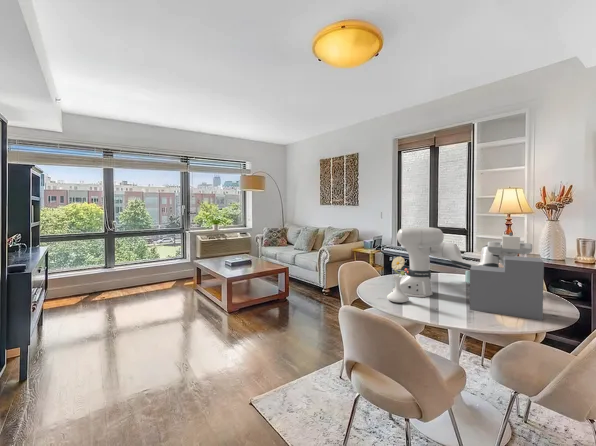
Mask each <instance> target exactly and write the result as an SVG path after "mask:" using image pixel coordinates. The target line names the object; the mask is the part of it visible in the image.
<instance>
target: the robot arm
mask: <svg viewBox="0 0 596 446" xmlns="http://www.w3.org/2000/svg"><path fill="white" fill-rule="evenodd" d="M444 237H445V235H444V232H443V231H442V229H440V228H437V227H429V226H427V227H424V226H423V227H422V226H421V227H420V226H419V227H418V226H417V227H415V226H414V227H413V226H412V227H411V226H410V227H409V226H408V227H402V228H400V229H399V230H398V231H397V234H396V239H397V242H398V243H399V244H400V246H402V247H403V248H404V249H405V250H406V252H407V254H408V258H409V260H408V261H409V268H404V272H405V275H403V277H402V278H401V281H400V289H401V291H402V292H403V293H405V294H406V295H407V296H408V297H414V298H415V297H416V298H425V297H429V296H433V294H434V292H433V290H432V286H431V279H432V273H431V271H432V270H431V257H433V258H437V259H443V260H444V259H445V260H448V261H450V262H451V264H452V265H454V266H456V267H459V268H464V269H467V270H470V268H471V265H475V266H487V267H500V266H499V263H500V264H501V265H502V267H504V256H514V257H518V254H522V255H529V254H531V253H532V252H533V244H532V243H529V242H520V249H507V248H502V241H488V242H487V245H484V246H482V247H481V252H480V259H479V262H478V263H476V262H472V261H467V260H466V259H463V256H462V252H461V250H460V248H459V246H458V245H457V244H455V243H453V242H443V241H444V239H445V238H444ZM430 256H431V257H430ZM395 287H396V286H395ZM395 287H393V288H392V289H391V290H392V291H394V290H395ZM392 291H391V292H392Z"/></svg>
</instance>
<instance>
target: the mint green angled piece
mask: <svg viewBox="0 0 596 446" xmlns="http://www.w3.org/2000/svg"><path fill="white" fill-rule="evenodd" d="M465 283H468V284H470V270H465Z"/></svg>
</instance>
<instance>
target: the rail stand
mask: <svg viewBox="0 0 596 446" xmlns="http://www.w3.org/2000/svg"><path fill="white" fill-rule="evenodd" d="M469 271H470V283H469V310H471V311H478V312H485V313H491V314H497V315H504V316H511V317H519V318H525V319H532V320H538V321H543V320H544V319H543V316H544V315H543V313H544V281H545V280H544V279H545V278H544V276H545V261H543V260H542V258H541V257H530V256H529V257H527V256H526V257H525V256H517V257H514V256H504V266H503V267H500V266H499V267H487V266H475V265H471V268H470V269H469Z"/></svg>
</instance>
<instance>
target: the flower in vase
mask: <svg viewBox="0 0 596 446" xmlns="http://www.w3.org/2000/svg"><path fill="white" fill-rule="evenodd" d="M404 266H405V258H404V257H402V256H396V257H395V258H393V259H392V262H391V268H392V269H393V271H394V272H395V273H397V274H393V275H392V277H393V278H394V281H395V290H394V291H393V292H392V291H391V292H390V293H388V294H387V296H386V298H387V299H388V301H391V302H393V303H407V302H408V301H409V299H410V297H409V296H407V295H406V294H405V293H403V292H402V291H401V289H400V281H401V278H402V277H404V276H405V275H406V272H405V270H402V269H403V267H404ZM398 270H399V271H400V272H399V271H398Z"/></svg>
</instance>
